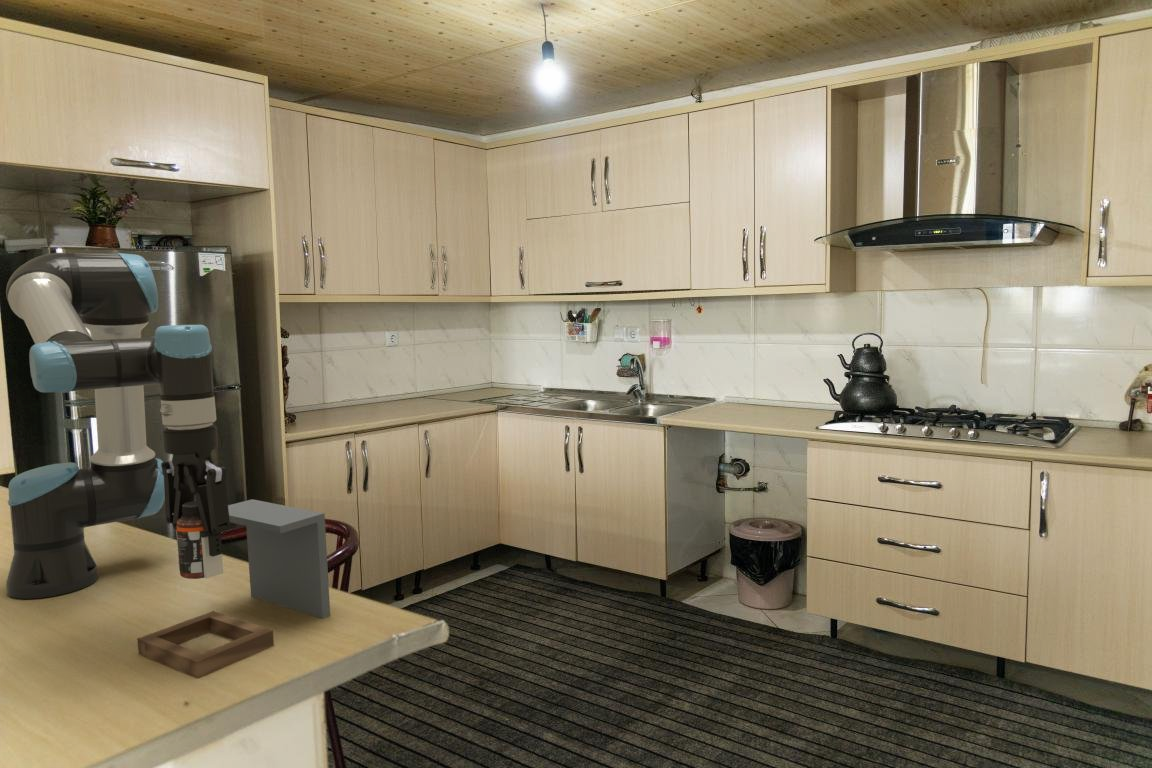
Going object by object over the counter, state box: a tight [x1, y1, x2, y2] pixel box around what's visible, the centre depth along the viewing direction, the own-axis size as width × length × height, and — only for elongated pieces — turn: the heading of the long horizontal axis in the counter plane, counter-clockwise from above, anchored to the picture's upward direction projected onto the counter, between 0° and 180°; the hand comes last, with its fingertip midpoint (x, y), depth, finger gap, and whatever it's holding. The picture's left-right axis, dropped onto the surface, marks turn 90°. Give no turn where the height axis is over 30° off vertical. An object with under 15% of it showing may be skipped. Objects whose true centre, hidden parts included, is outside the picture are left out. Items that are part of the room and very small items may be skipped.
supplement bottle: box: [176, 500, 204, 580], centre depth 127 cm, size 6×6×11 cm
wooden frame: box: [136, 610, 275, 679], centre depth 129 cm, size 16×13×2 cm
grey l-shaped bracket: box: [228, 498, 331, 619], centre depth 143 cm, size 20×9×18 cm, turn 57°
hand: (201, 571), depth 128 cm, fingers closed on supplement bottle, 6 cm apart
